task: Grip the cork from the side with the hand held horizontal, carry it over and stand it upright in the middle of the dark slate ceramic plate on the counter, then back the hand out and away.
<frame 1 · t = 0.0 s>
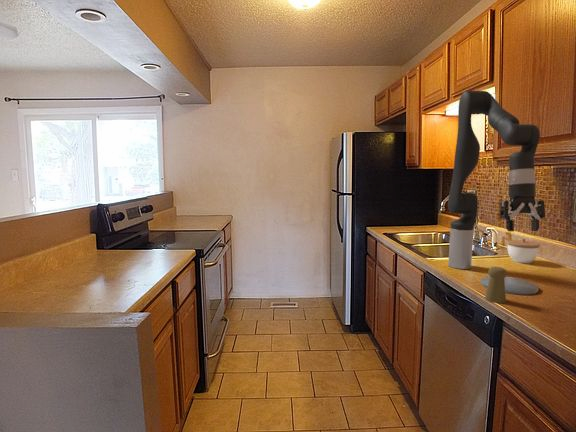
hand: (522, 231, 117), 22 cm above the worktop, tool pointing down, fingers open, 8 cm apart
cork: (495, 300, 115), on the worktop
lidded bowl: (521, 261, 165), on the worktop
slate plate: (508, 286, 129), on the worktop
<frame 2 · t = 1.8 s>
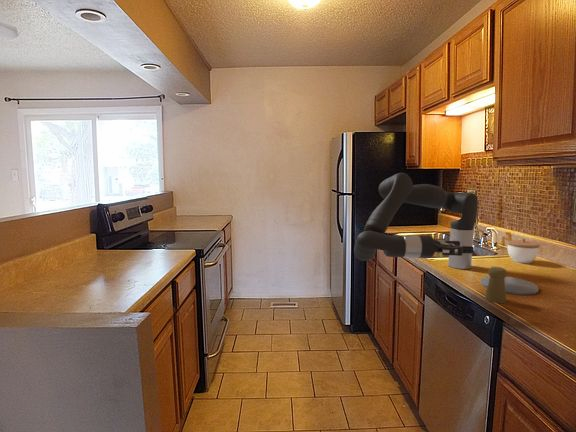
hand: (465, 246, 113), 18 cm above the worktop, tool horizontal, fingers open, 8 cm apart
nothing on the worktop moved.
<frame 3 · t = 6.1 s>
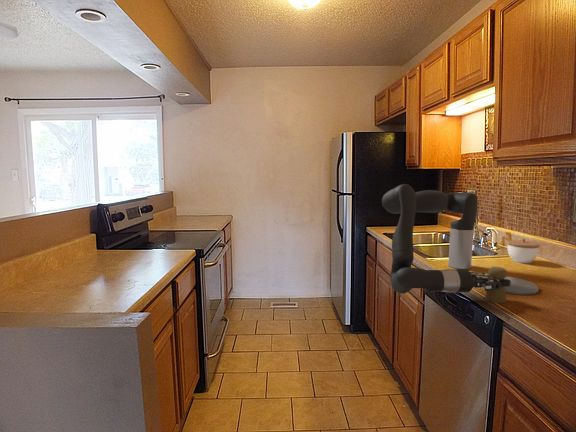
hand: (505, 280, 114), 7 cm above the worktop, tool horizontal, fingers closed on cork, 4 cm apart
cork: (495, 300, 115), on the worktop, touching gripper
everything else where it was.
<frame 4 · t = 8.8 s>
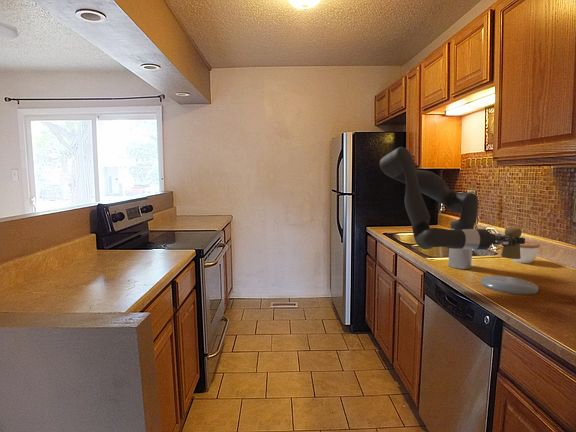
hand: (519, 239, 127), 18 cm above the worktop, tool horizontal, fingers closed on cork, 4 cm apart
cork: (510, 257, 127), point 11 cm above the worktop, touching gripper
everything else where it was.
when the fingers open (8 cm above the worktop, at t = 11.7 s): cork stays where it is, resting on slate plate.
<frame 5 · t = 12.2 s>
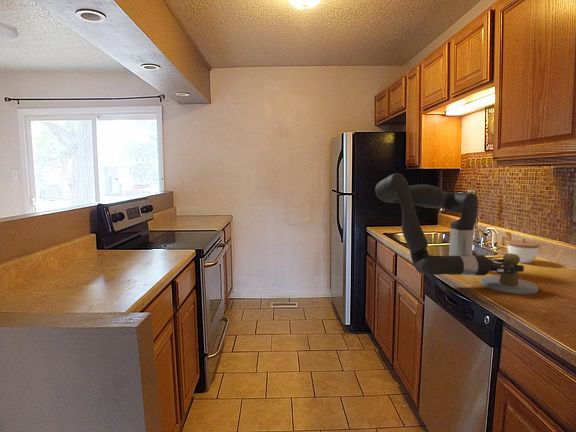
hand: (515, 265, 128), 8 cm above the worktop, tool horizontal, fingers open, 8 cm apart
cork: (508, 283, 129), point 1 cm above the worktop, touching slate plate
everything else where it was.
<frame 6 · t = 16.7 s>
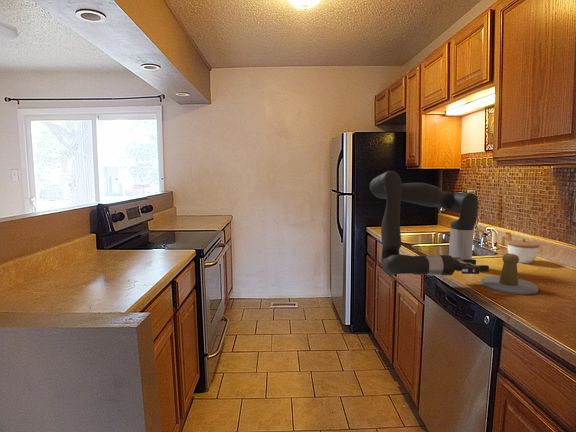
hand: (481, 265, 128), 8 cm above the worktop, tool horizontal, fingers open, 8 cm apart
nothing on the worktop moved.
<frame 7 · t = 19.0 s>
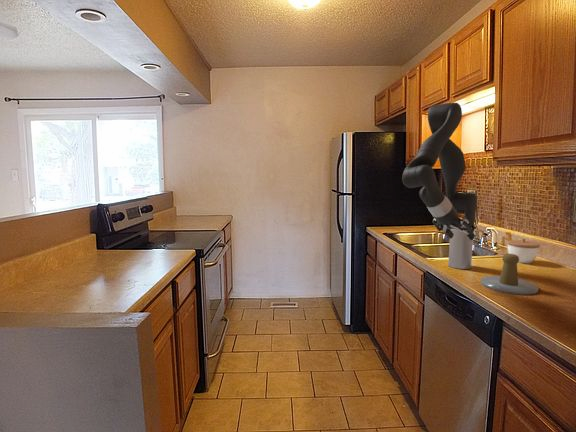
hand: (462, 237, 130), 18 cm above the worktop, tool tilted 45°, fingers open, 8 cm apart
nothing on the worktop moved.
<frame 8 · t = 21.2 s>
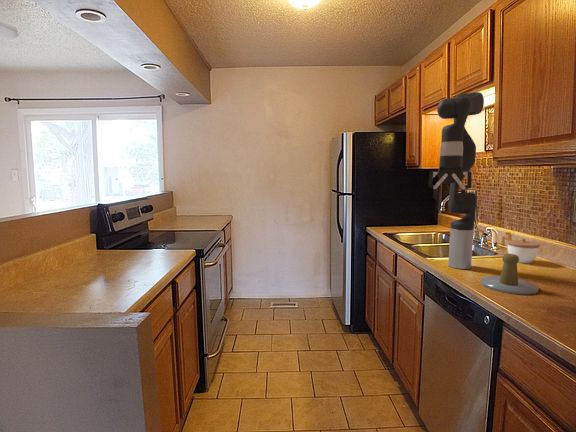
hand: (448, 199, 127), 32 cm above the worktop, tool pointing down, fingers open, 8 cm apart
nothing on the worktop moved.
at the end: cork inside the target area on the slate plate (0.1 cm from its centre), point 1.0 cm above the slate plate's base; cork tilted 0°; the gripper is holding nothing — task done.
